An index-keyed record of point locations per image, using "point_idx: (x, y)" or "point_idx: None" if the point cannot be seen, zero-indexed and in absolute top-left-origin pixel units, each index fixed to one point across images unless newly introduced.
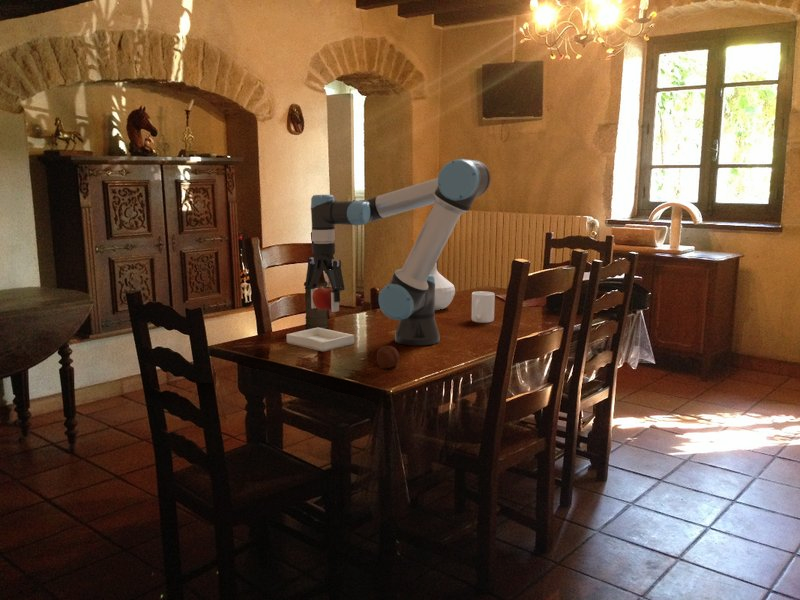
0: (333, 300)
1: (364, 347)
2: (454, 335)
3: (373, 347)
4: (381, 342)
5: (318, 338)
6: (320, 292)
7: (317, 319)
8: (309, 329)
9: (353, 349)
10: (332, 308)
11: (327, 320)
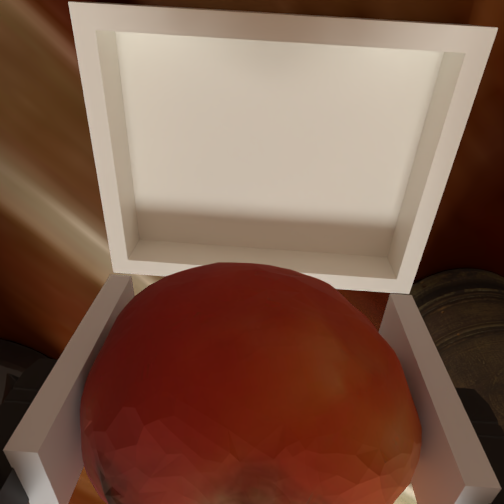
0: (63, 364)
1: (38, 224)
2: None
3: (13, 246)
4: (71, 322)
5: (331, 205)
6: (211, 416)
7: (445, 341)
8: (423, 233)
9: (35, 164)
10: (105, 296)
11: None
